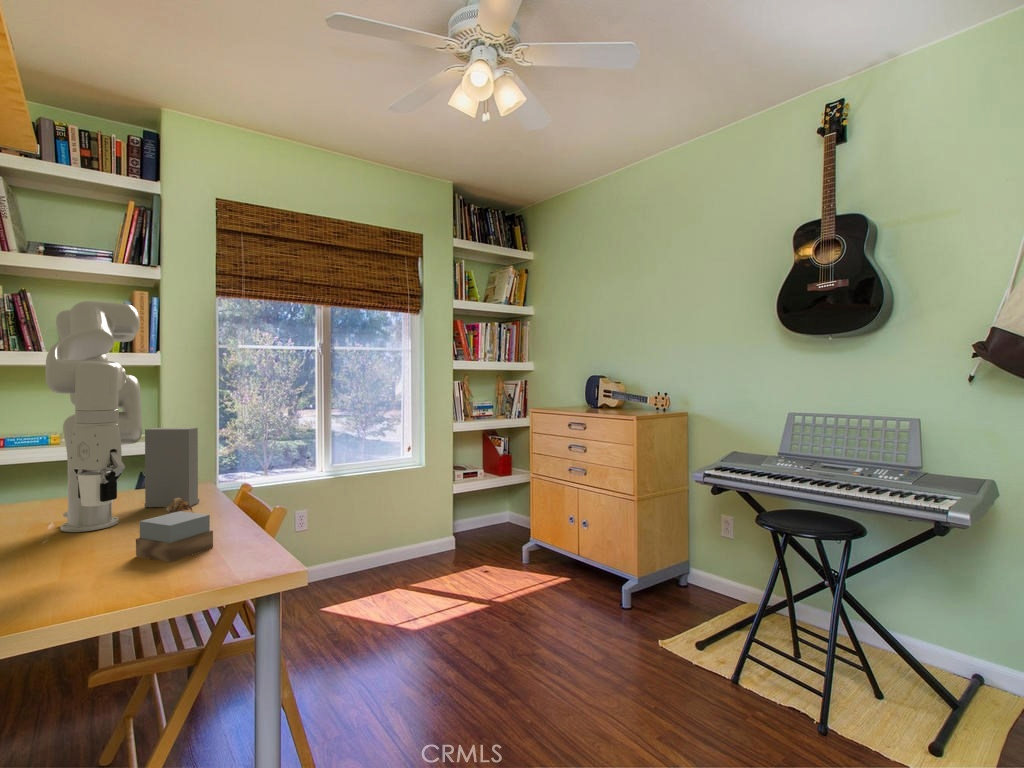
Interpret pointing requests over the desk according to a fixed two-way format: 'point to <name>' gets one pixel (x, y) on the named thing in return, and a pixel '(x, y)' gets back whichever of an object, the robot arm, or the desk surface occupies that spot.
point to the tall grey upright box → (171, 466)
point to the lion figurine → (179, 506)
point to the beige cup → (91, 488)
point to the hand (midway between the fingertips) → (97, 497)
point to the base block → (173, 547)
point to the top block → (174, 526)
